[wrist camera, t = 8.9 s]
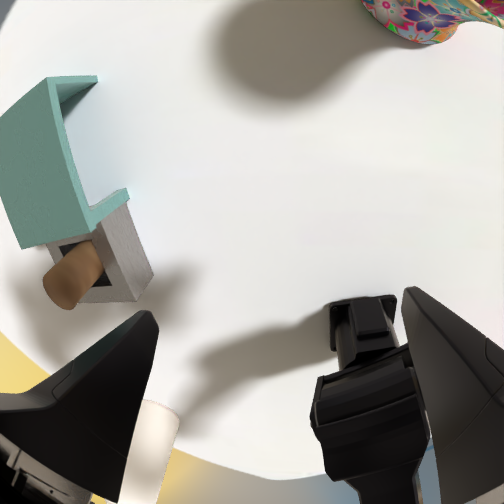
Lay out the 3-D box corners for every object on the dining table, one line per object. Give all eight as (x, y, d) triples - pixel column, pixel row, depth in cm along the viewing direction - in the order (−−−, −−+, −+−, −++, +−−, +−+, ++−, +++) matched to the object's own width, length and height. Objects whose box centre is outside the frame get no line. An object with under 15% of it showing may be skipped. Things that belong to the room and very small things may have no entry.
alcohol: (147, 418, 44) (104, 546, 19) (125, 394, 40) (69, 537, 14) (188, 425, 43) (150, 566, 17) (169, 401, 39) (117, 564, 13)
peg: (126, 256, 25) (82, 310, 18) (101, 259, 26) (56, 309, 19) (113, 223, 23) (60, 271, 17) (87, 229, 24) (36, 274, 17)
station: (158, 274, 26) (131, 317, 20) (86, 281, 28) (57, 315, 22) (96, 75, 17) (46, 77, 12) (28, 120, 19) (-16, 134, 14)
